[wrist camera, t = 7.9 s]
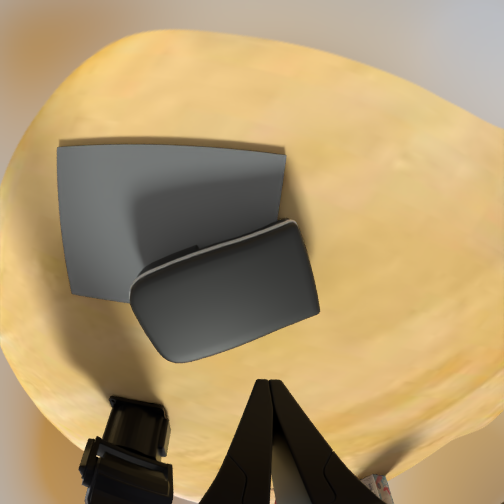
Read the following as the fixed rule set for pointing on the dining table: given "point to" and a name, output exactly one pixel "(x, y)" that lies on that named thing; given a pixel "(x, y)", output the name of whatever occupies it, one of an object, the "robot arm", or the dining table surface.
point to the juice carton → (379, 487)
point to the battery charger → (225, 292)
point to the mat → (155, 206)
